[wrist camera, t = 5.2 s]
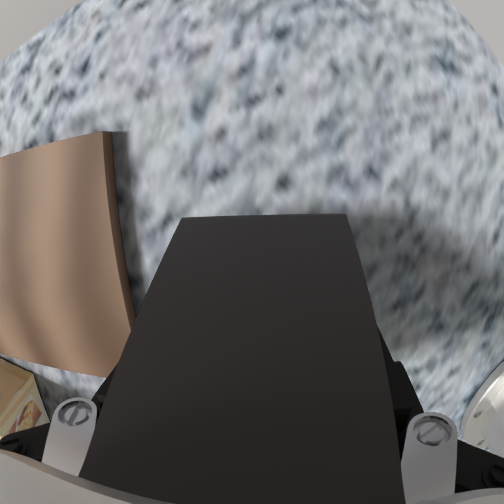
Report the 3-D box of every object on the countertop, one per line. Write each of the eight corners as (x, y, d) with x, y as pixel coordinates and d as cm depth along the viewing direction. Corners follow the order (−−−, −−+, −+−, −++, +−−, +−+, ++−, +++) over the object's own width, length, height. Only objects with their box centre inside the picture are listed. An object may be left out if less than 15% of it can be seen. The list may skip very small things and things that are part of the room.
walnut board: (111, 131, 15) (102, 131, 14) (149, 373, 19) (144, 383, 18) (-45, 175, 16) (-54, 177, 15) (-4, 344, 21) (-10, 350, 20)
